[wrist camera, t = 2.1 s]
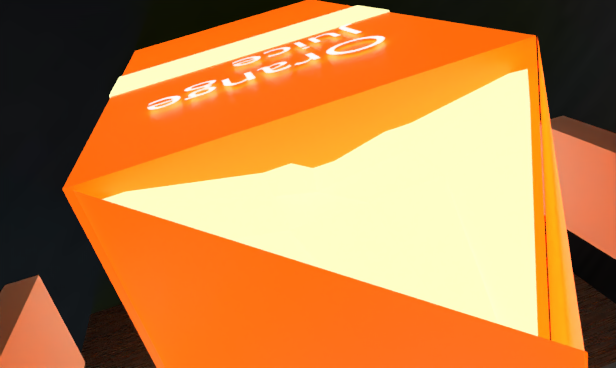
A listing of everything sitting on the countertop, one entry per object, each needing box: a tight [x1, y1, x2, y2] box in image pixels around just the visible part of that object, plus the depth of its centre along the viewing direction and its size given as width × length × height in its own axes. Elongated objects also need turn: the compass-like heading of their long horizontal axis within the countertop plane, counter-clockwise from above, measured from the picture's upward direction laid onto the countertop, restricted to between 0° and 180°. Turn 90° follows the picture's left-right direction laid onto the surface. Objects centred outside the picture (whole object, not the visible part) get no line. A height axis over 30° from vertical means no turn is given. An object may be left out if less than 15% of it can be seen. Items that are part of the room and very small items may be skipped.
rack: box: [81, 253, 616, 368], centre depth 15 cm, size 24×20×12 cm
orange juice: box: [63, 0, 588, 368], centre depth 13 cm, size 8×9×20 cm
